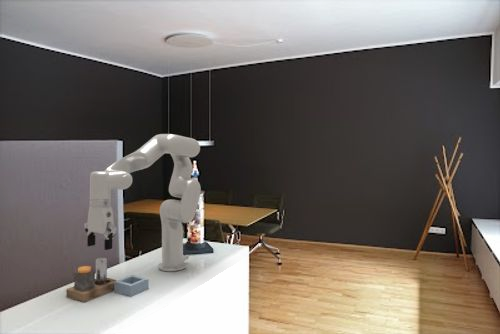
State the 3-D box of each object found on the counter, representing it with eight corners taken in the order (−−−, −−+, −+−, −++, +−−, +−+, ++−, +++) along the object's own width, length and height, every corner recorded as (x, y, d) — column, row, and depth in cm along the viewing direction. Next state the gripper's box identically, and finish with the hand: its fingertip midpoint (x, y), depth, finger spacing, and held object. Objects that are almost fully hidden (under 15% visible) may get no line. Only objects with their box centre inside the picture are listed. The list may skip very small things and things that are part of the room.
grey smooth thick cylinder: (102, 287, 152) (102, 257, 151) (109, 288, 150) (108, 258, 149) (93, 290, 148) (93, 259, 148) (100, 292, 146) (100, 261, 146)
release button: (85, 284, 145) (85, 265, 145) (93, 286, 143) (93, 267, 143) (75, 288, 142) (75, 268, 141) (83, 290, 139) (83, 270, 139)
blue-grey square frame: (132, 284, 155) (132, 274, 155) (148, 288, 150) (148, 278, 150) (114, 291, 147) (114, 281, 147) (131, 296, 143) (130, 286, 142)
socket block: (102, 283, 156) (102, 261, 155) (119, 288, 151) (119, 265, 150) (66, 296, 142) (66, 273, 141) (84, 302, 137) (83, 277, 136)
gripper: (123, 204, 146) (123, 248, 147) (93, 200, 155) (93, 242, 155) (107, 206, 140) (107, 252, 140) (77, 202, 148) (76, 246, 149)
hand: (99, 247), depth 148 cm, fingers open, 9 cm apart
